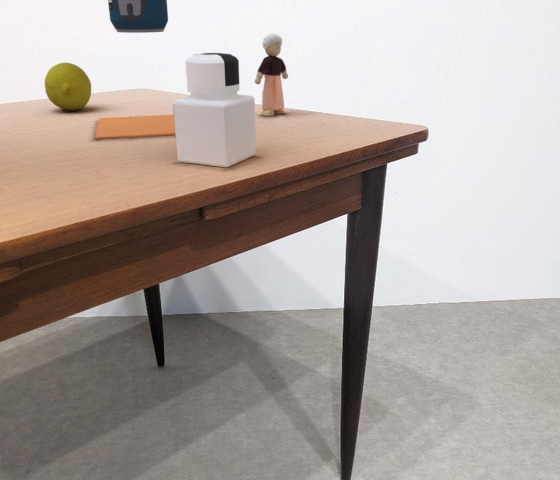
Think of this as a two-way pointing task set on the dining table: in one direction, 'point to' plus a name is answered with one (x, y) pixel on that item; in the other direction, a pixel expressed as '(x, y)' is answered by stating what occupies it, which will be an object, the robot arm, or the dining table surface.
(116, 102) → the dining table surface
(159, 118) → the orange cloth
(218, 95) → the medicine bottle
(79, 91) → the lemon
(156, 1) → the soda can
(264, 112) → the grandmother figurine
